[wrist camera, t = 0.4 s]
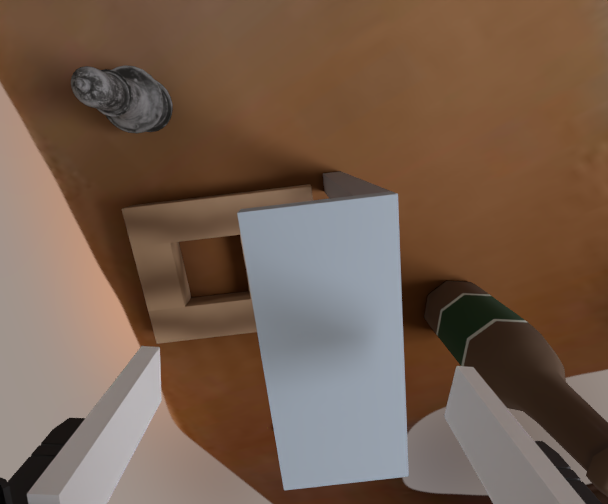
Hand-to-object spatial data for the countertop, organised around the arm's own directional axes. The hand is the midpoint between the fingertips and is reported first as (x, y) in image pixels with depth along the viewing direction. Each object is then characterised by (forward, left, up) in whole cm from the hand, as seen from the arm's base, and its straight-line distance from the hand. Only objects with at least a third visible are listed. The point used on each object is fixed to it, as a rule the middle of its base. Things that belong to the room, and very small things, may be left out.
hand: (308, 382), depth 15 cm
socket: (+2, -8, -26) cm, 27 cm away
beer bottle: (+11, +18, -26) cm, 33 cm away
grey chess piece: (-16, -14, -26) cm, 34 cm away
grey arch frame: (+2, +1, -26) cm, 26 cm away
